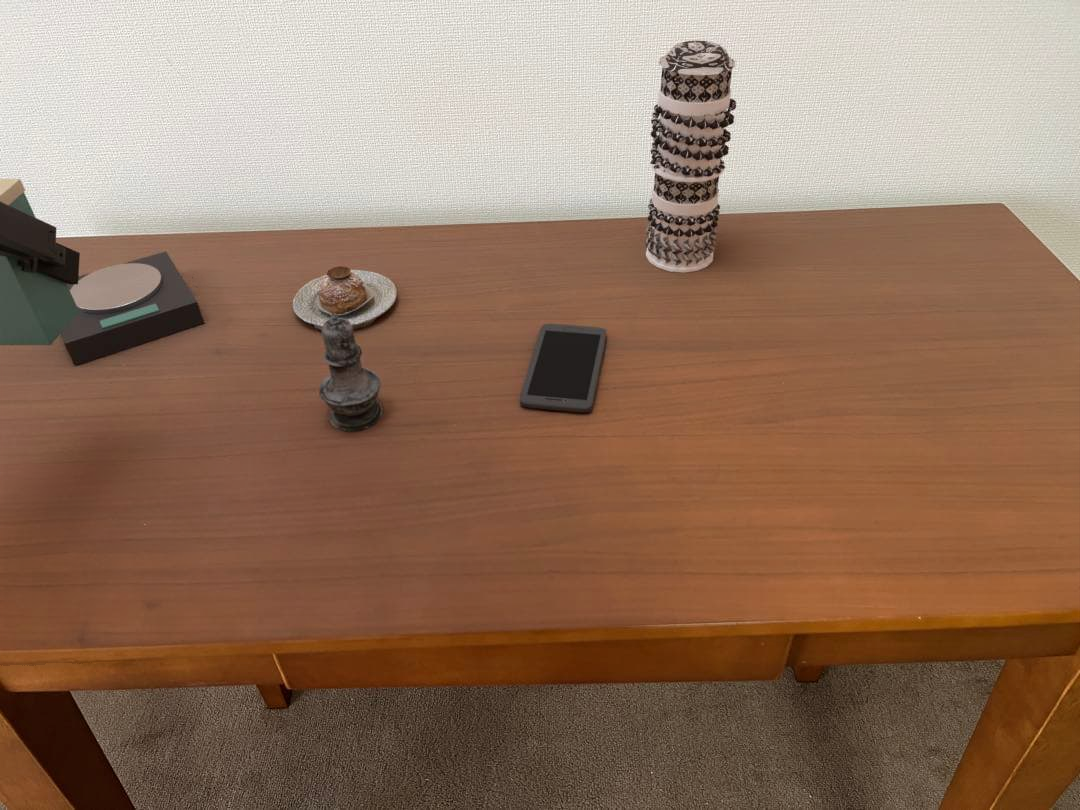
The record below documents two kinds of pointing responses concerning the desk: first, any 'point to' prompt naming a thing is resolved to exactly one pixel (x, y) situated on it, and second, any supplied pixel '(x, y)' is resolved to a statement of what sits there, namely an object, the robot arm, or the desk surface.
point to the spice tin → (30, 291)
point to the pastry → (345, 297)
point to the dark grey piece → (348, 380)
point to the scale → (134, 317)
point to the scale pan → (116, 288)
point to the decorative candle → (689, 155)
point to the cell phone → (564, 368)
